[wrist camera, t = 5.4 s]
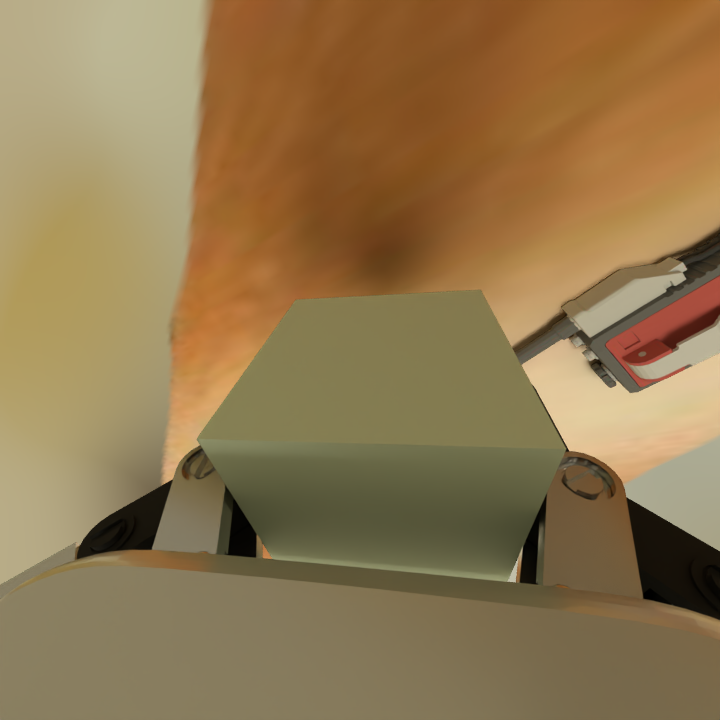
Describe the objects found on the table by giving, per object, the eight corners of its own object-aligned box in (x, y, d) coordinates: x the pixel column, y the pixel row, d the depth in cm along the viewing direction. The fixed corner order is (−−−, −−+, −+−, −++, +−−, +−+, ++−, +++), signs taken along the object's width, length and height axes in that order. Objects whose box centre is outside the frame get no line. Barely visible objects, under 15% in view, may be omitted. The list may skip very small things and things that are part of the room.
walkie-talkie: (775, 152, 16) (468, 366, 26) (886, 151, 12) (480, 400, 22) (822, 264, 19) (527, 419, 28) (924, 289, 15) (546, 458, 25)
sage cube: (295, 299, 10) (196, 439, 5) (480, 289, 9) (565, 448, 4) (326, 422, 14) (282, 574, 9) (463, 424, 13) (500, 597, 8)
